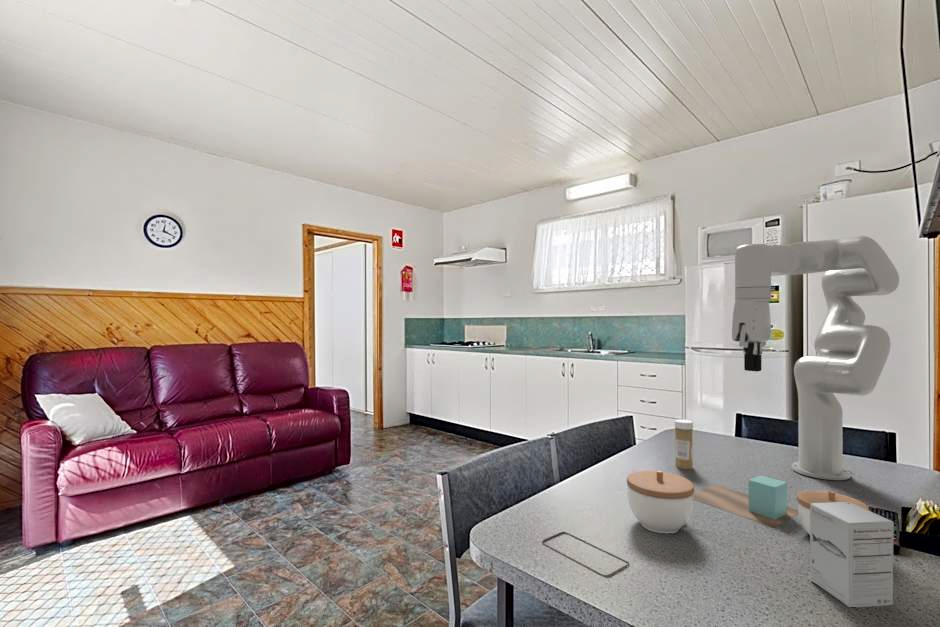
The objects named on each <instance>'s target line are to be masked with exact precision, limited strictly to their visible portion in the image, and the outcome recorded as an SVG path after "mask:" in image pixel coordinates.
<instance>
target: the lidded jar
mask: <svg viewBox="0 0 940 627" xmlns="http://www.w3.org/2000/svg"><path fill="white" fill-rule="evenodd" d="M796 500H797V510H798V518H799V521H800V523H801V525H802V527H803V528H804V531H805V532H807V534H808V535H809V536H810V504H811V503H828V502H851V503H853V504H855V505H857V506H860V507H862V508H864V509H866V510H868V511H870V508H869V506H868V505H867V504H865V502H862V501H860V500H858V499H856V498H853V497H850V496H849V495H848V496H847V495H844V494H840V493H837V492H835V491H833V490H828V491H825V490H802V491H800V492H797V494H796Z"/></svg>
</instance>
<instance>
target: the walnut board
mask: <svg viewBox="0 0 940 627" xmlns="http://www.w3.org/2000/svg"><path fill="white" fill-rule="evenodd" d="M693 501H696V502H699V503H702V504H704V505H709V506H711V507H714V508H717V509H720V510H722V511H725V512H728V513H731V514H733V515H738V516H740V517H743V518H745V519H748V520H750V521H754V522H757V523H760V524H763V525H764V526H769V527H771V528H776V527H778V526H779V525H781V524H783V523H785V522H787V521H789V520H791V519H793V518H794V517H796V516H799V514H798V509H794V508H791V507H788V506H787V514H785V515H784V516H782V517H780V518H778V519H776V520H775V519H772V518H769V517H766V516H763V515H760V514H757V513H754V512H751V511H749V494H746V493H742V492H739V491H737V490H736V491H735V490H734V489H730V488H726V487H724V486H720V485H718V484H717V485H716V484H712V485H709V486H707V487H704V488H702V489H699V490H696V491H694V493H693Z"/></svg>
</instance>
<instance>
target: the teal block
mask: <svg viewBox="0 0 940 627" xmlns="http://www.w3.org/2000/svg"><path fill="white" fill-rule="evenodd" d="M748 495H749V511H751V512H754V513H757V514H760V515H763V516H766V517H769V518H772V519H775V520H776V519H778V518H780V517H782V516H784V515H785V514H787V507H788V481H784V480H783V481H782V480H779V479H775V478H771V477H768V476H764V475H762V474H759V475H757V476H755V477H753V478H750V479H748Z"/></svg>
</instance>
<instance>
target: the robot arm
mask: <svg viewBox="0 0 940 627" xmlns="http://www.w3.org/2000/svg"><path fill="white" fill-rule="evenodd" d="M816 273H824V274H823V275H822V278H821V288H822V293H823V296H824V298H825V302H826V306H827V313H826V315H825V317H824V320H823V322H822V324H821V326H820V328H819V330H818V332H817V334H816V337H815V340H814V344H813V345H814V347H813V349H814V350H815V352H816V354H817V355H816V354H813V355H804V356H802V357H800V358H798V359H797V360H796V361H795V364H794V367H793V374H794V379H795V380H794V381H795V386H796V389H797V391H796V392H797V399H798V402H797V403H798V416H797V417H798V461H794V462H792V464H791V468H792V470H793V471H794V472H796V473H798V474H800V475H804V476H807V477H811V478H815V479H821V480H829V481H844V480H845V481H846V480H848V479H851V472H850V471H848V469H846V468H843V467H844V466H843V463H844V462H843V460H844V456H843V454H844V453H843V418H844V417H843V408H842V406H841V403H840V401H839V400H838V398H837V396H836V395H835V394H840V395H848V396H855V397H857V396H859V397H864V396H867V395H870V394H871V393H872V392H873V391H874V390H875V388H876V386H877V385H878V383H879V382H878V381H879V379H880V376H881V375H882V372H883V370H884V367H885V365H886V363H887V360H888V358H889V354H890V352H891V339H890V338H891V337H890V336H889V334H888V332H887V331H886V330H885V329H884V328H883V327H880V326H877V325H873V324H871V325H870V324H865V320H866V314H865V311H864V310H863V308H862V307H861V306H860V305H859V303H857V302H856V301H855V300H854V299H853V298H852V297H865V296H866V297H868V296H870V297H871V296H885V295H889V294H892V293H894V292H895V291H896V290H897V289H898V287H899V284H900V275H899V271H898V270H897V268H896V266H895V264H894V263H893V261H892V260H891V259H890V258H889V256H888V255H887V252H886V251H885V250H884V249H883V247H881V245H880V244H879V243H878V242H877V241H876V240H875V239H873V238H872V237H869V236H867V235H860V236H859V235H858V236H852V237H844V238H835V239H825V240H807V241H800V242H793V243H789V244H777V245H768V244H764V243H752V244H749V243H748V244H743V245H740V246H738V247H737V248H736V249H735V252H734V305H733V312H732V325H731V326H732V327H731V339H732V340H733V341H734V342H739V343H738V346H739V347H741V348H742V351H743V352H742V353H743V355H744V357H743V358H744V359H743V362H744V365H743V366H744V367H743V368H744V371H748V372H762V354H763V349H764V348H763V347H765V346H766V345H767V342H768V341H769V340H770V339H771V336H772V335H771V334H772V329H771V328H772V325H771V324H772V323H771V309H770V302H771V301H772V282H771V281H772V277H774V276H775V277H776V276H787V275H791V276H792V275H793V276H794V275H795V276H797V275H807V274H816Z"/></svg>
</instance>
